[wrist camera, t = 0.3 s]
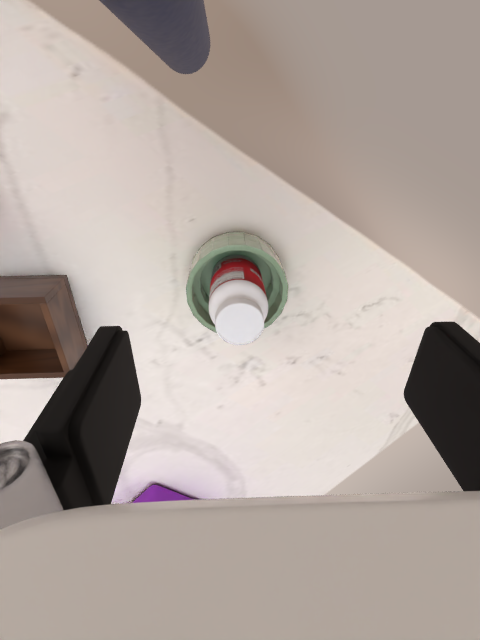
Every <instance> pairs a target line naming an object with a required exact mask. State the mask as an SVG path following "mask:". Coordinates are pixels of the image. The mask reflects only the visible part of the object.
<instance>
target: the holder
mask: <svg viewBox="0 0 480 640" xmlns="http://www.w3.org/2000/svg"><path fill="white" fill-rule="evenodd" d="M86 348H87V343H86V339H85V336H84V333H83V329H82V326H81V322H80V319H79V316H78V312H77V309H76V306H75V302H74V299H73V296H72V292H71V289H70V285H69V282H68V279H67V275H49V276H0V379H26V378H61V377H64V376H65V375H66V374H67V372H68V371H69V370H72V369H74V367H75V366H76V364H77V362H78V361H79V359H80V358H81V356H82V354H83V353H84V351H85V350H86Z"/></svg>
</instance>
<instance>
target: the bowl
mask: <svg viewBox="0 0 480 640" xmlns="http://www.w3.org/2000/svg"><path fill="white" fill-rule="evenodd" d="M232 255H241V256H245V257H248V258H250V259H251V260H252V261H254V262H255V263H256V265H257V266H258V268H259V270H260V272H261V275H262V280H263V284H264V288H265V292H266V296H267V300H268V314H267V317H266V319H265V321H264V328H266V327H268V326H269V325H271V324H272V323H273V322H274V321H275V320H276V319H277V317H278V316H279V315H280V314H281V313H282V310H283V308H284V306H285V304H286V301H287V294H288V283H287V280H286V276H285V272H284V270H283V267H282V265H281V262H280V260H279V257H278V255H277V254H276V253H275V251H274V250H273V248H272V247H271V246H270V245H269V244H268V243H266V242H265V241H264V240H262V239H261V238H259V237H258V236H255V235H251V234H248V233H245V232H244V233H243V232H228V233H225V234H222V235H219V236H216V237H214V238H212V239H210V240H209V241H208V242H206V243H205V244H204V245H202V247H200V249H199V250H198V252H197V253H196V255H195V256H194V258H193V261H192V264H191V268H190V272H189V277H188V281H187V285H186V294H187V302H188V305H189V307H190V309H191V311H192V313H193V315H194V316H195V317H196V318H197V319H198V320H199V322H200V323H201V324H202V325H204V326H205V327H207V328H208V329H210V330H212V331H214V332H216V333H217V331H216V328H215V324H214V323H213V321H212V320H211V317H210V314H209V295H210V283H211V275H212V271H213V269H214V267H215V266H216V264H217V263H218V262H219V261H220V260H222V259H223V258H225V257H228V256H232Z"/></svg>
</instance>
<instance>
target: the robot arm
mask: <svg viewBox="0 0 480 640" xmlns="http://www.w3.org/2000/svg"><path fill="white" fill-rule="evenodd" d="M404 398H405V401H406V403H407V404H408V406H409V407H410V409H411V410H412V412H413V414H414V415H415V417H416V418H417V420H418V421H419V423H420V424H421V426H422V427H423V429H424V431H425V432H426V434H427V435H428V437H429V438H430V440H431V441H432V443H433V444H434V446H435V448H436V449H437V451H438V452H439V454H440V455H441V457H442V458H443V460H444V462H445V463H446V465H447V466H448V468H449V469H450V471H451V472H452V474H453V475H454V477H455V478H456V480H457V481H458V483H459V485H460V486H461V488H462V489H463V491H458V492H419V493H382V494H351V495H350V494H349V495H317V496H286V497H258V498H231V499H203V500H178V501H159V502H141V503H122V504H111V501H112V498H113V495H114V491H115V488H116V485H117V482H118V478H119V475H120V472H121V468H122V465H123V462H124V459H125V455H126V452H127V449H128V445H129V442H130V439H131V436H132V432H133V429H134V426H135V422H136V419H137V416H138V413H139V409H140V405H141V394H140V389H139V384H138V379H137V374H136V369H135V364H134V359H133V354H132V349H131V344H130V339H129V334H128V332H127V331H122V328H121V327H120V326H102V327H100V328H99V329H98V330H97V332H96V334H95V335H94V337H93V338H92V340H91V342H90V343H89V345H88V346H87V348H86V350H85V351H84V353H83V354H82V356H81V358H80V359H79V361H78V362H77V364H76V366H75V367H74V369H72V370H69V371H68V372H67V374H66V375H65V376H64V378H63V380H62V381H61V383H60V384H59V386H58V387H57V389H56V391H55V392H54V394H53V395H52V397H51V398H50V400H49V401H48V403H47V405H46V406H45V408H44V409H43V411H42V412H41V414H40V415H39V417H38V419H37V420H36V422H35V423H34V425H33V426H32V428H31V430H30V431H29V433H28V434H27V436H26V437H25V439H24V440H23V441H10V442H5V443H2V444H0V640H480V343H479V342H478V341H477V340H475V339H474V338H473V337H472V336H471V335H470V334H469V333H467V332H466V331H465V330H464V329H463V328H462V327H460V326H459V325H458V324H457V323H455V322H434V323H432V324H431V325H430V327H427V328H426V329H425V331H424V334H423V337H422V340H421V343H420V346H419V349H418V352H417V354H416V357H415V360H414V363H413V366H412V369H411V372H410V375H409V378H408V381H407V383H406V386H405V389H404Z"/></svg>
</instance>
